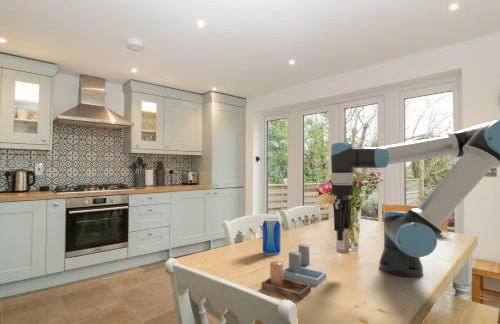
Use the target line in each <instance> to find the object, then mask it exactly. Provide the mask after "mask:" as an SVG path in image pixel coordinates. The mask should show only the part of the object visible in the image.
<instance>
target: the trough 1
mask: <svg viewBox="0 0 500 324" xmlns="http://www.w3.org/2000/svg"><path fill="white" fill-rule="evenodd" d="M261 289H262V290H264V291H268V292H271V293H274V294H277V295H281V296H283V297H286V298H289V299H293V300H296V301H300V302H301V301H302V300H303V299H304V298H305V297H307V296H308V295H309V294H310V293H311V292H312V284H308V283H304V282H301V281H297V280H293V279H290V278H286V277H283V288H282V287H278V286H275V285H271V284H270V277H268V278H267V279H266V280H263V281H262V282H261Z"/></svg>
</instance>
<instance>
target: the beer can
mask: <svg viewBox="0 0 500 324" xmlns="http://www.w3.org/2000/svg"><path fill="white" fill-rule="evenodd" d="M281 226H282V225H281V223H280V220H279V219H278V218H272V217H269V218H265V219H264V220H263V223H262V252H263V254H264V255H265V256H268V257H269V256H277V255H279V254H280V253H281V246H282V245H281V244H282V243H281V238H282V237H281V235H282V234H281Z"/></svg>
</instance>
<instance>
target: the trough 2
mask: <svg viewBox="0 0 500 324" xmlns="http://www.w3.org/2000/svg"><path fill="white" fill-rule="evenodd" d="M283 278H286V279H290V280H293V281H297V282H301V283H304V284H308V285H311V286H316V287H318V286H319V285H321V283H323V282H324V281H326V280H327V272H325V271H324V272H323V271H319V270H315V269H310V268H306V267H304V266H301V275H299V274H295V273H291V272H289V266H287V267H285V268H283Z"/></svg>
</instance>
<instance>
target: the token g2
mask: <svg viewBox="0 0 500 324" xmlns="http://www.w3.org/2000/svg"><path fill="white" fill-rule="evenodd" d="M298 252H299V253H301V267H307V266H310V244H303V243H302V244H299V245H298Z"/></svg>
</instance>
